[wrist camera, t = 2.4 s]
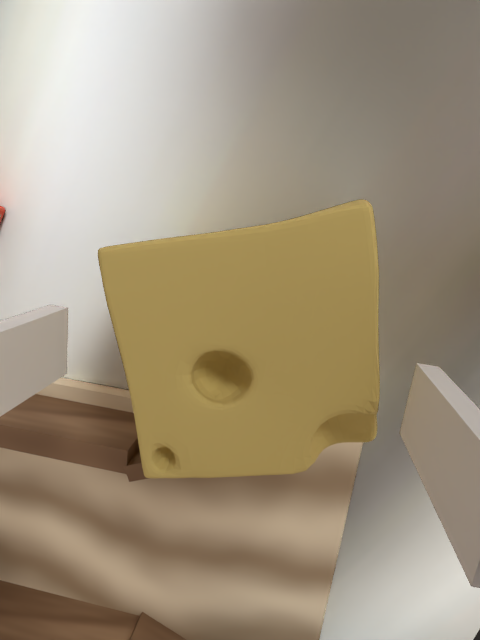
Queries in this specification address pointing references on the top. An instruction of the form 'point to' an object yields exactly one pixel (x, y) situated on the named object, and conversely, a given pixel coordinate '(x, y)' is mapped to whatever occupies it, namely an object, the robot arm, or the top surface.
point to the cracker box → (1, 212)
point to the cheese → (249, 342)
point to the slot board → (155, 533)
